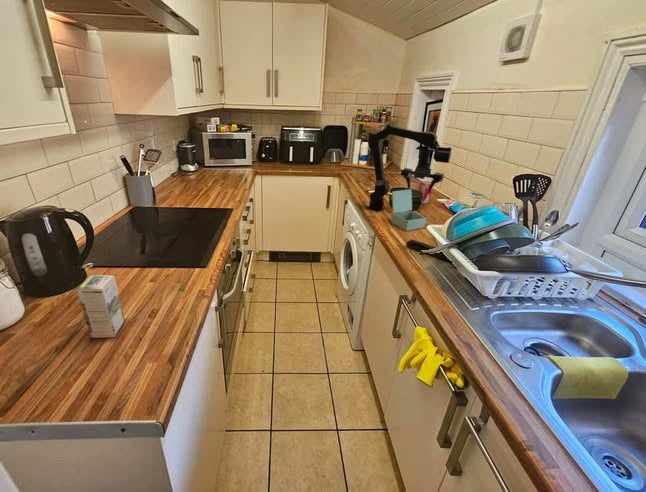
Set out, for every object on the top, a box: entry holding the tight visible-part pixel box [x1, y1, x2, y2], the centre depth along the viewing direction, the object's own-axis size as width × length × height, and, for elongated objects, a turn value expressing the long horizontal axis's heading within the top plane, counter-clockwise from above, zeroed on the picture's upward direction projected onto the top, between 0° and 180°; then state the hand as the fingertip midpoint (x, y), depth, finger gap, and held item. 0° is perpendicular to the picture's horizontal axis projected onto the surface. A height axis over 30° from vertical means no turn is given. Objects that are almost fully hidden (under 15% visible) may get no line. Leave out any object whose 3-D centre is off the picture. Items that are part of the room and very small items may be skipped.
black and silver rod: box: [406, 239, 452, 263], centre depth 117 cm, size 18×3×3 cm, turn 47°
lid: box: [391, 188, 413, 214], centre depth 144 cm, size 10×12×1 cm
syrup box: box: [76, 274, 125, 339], centre depth 73 cm, size 6×6×14 cm
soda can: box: [417, 180, 433, 205], centre depth 172 cm, size 7×7×12 cm
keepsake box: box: [391, 210, 427, 232], centre depth 142 cm, size 10×12×5 cm
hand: (418, 191), depth 147 cm, fingers open, 9 cm apart
